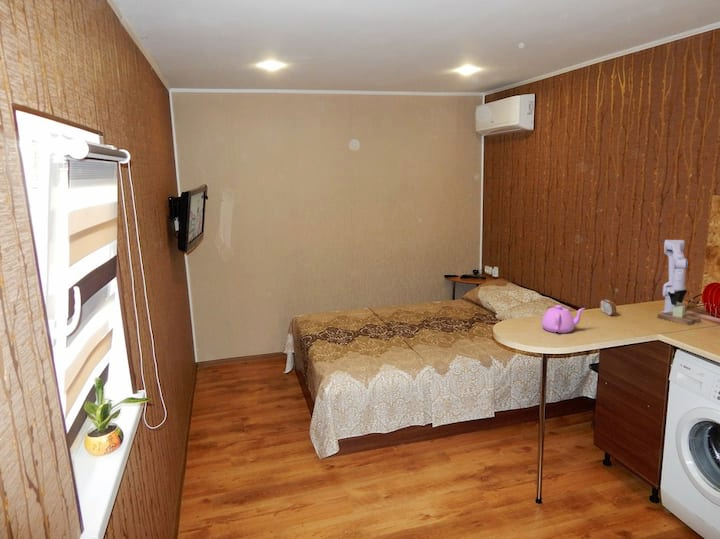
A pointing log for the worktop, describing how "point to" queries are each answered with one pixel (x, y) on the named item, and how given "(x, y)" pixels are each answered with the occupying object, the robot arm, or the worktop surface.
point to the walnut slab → (679, 318)
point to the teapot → (560, 319)
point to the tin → (608, 307)
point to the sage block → (679, 310)
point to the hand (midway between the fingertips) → (676, 303)
